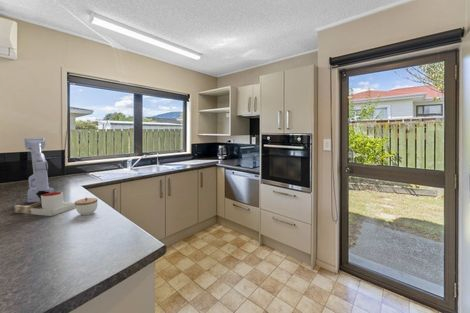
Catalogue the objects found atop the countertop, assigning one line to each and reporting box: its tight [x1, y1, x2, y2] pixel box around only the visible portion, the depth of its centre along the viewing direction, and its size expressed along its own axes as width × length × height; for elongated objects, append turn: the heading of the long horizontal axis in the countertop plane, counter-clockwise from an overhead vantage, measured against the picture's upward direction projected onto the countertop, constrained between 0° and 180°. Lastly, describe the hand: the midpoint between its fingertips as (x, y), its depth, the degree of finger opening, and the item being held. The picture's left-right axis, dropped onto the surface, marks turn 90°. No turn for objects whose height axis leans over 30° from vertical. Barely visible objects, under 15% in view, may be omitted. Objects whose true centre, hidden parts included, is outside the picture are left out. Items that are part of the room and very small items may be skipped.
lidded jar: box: [74, 196, 99, 216], centre depth 125 cm, size 11×11×9 cm
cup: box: [41, 191, 65, 210], centre depth 131 cm, size 10×10×10 cm
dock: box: [30, 201, 76, 217], centre depth 131 cm, size 15×15×3 cm
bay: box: [13, 199, 42, 215], centre depth 134 cm, size 12×15×4 cm
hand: (44, 203), depth 132 cm, fingers closed
